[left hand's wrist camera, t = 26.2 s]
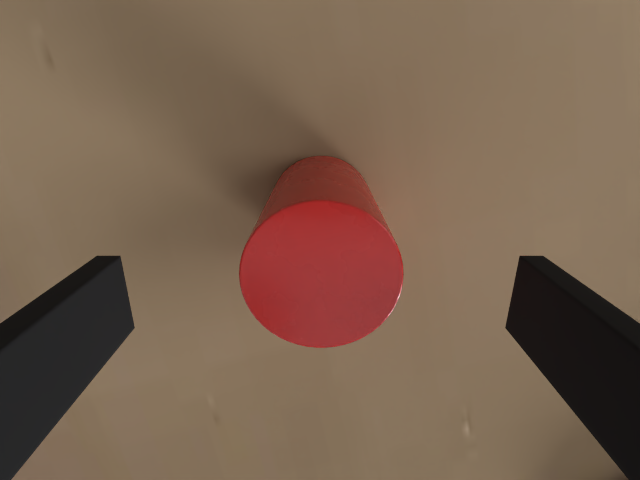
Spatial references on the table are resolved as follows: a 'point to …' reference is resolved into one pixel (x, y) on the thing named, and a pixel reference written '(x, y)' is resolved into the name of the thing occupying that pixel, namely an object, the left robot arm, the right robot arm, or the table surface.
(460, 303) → the table surface
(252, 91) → the table surface
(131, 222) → the table surface
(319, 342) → the canister
